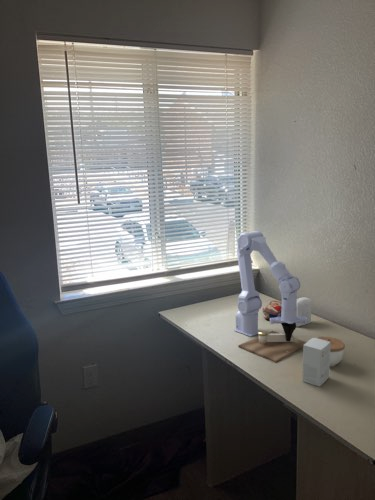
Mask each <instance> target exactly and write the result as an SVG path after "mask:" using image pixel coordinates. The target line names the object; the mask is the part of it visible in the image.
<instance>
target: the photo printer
mask: <svg viewBox="0 0 375 500" xmlns="http://www.w3.org/2000/svg"><path fill="white" fill-rule="evenodd" d="M312 305H313V304H312V300H311V298H309V297H306V296H304V297H303V296H302V297H300V298H299V297H298V298H297V308H296V317H306V318H307V319H308V324H311V322H312ZM305 325H306V324H305V323H296V328H297V327H301V326H305Z"/></svg>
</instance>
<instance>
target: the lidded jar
mask: <svg viewBox="0 0 375 500" xmlns="http://www.w3.org/2000/svg"><path fill="white" fill-rule="evenodd" d="M317 338H318V339H322V340H326V341H329V342H331V346H330V365H329V367H335V366H337V364H339V363H340V362H341V361H342V360H343V357H344V354H345V347H346V345H345V342H343V341H342V340H340V339H338V338H336V337H331V336H319V337H317Z"/></svg>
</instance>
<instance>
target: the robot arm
mask: <svg viewBox="0 0 375 500" xmlns="http://www.w3.org/2000/svg"><path fill="white" fill-rule="evenodd" d="M236 244H237V248H236V256H237V263H238V269H239V278H240V284H241V285H240V287H241V292H240V293H239V295H238V296H237V297H238V299H237V300H238V301H237V308H238V311H237V312H236V314H235V329H233V330H234V331H235V332H236V333H237V332H238V333H240V334H242V335H244V336H245V335H246V336H248V337H253V336H256V335H258V331H261V329H259V312H260V309H261V308H262V306H263V301H262V298H261V297H260V292H258V291H257V290H256V287H255V279H254V271H253V265H252V263H253V262H252V257H251V256H252V255H251V254H252V252H255V251H256V252H258V253H259V254H260V256H261V257H262V258H263V259H264V260H265V262H267V264H268V265H269V266H270V267H269V271H270V273H271V275H272V276H273V277H274V279H275V280H276V281H277V282H278V289H279V291H280V294H281V295H280V296H281V303H282V309H281V314H280V316H279V317H275V318H270V319H269V323H270V325H274V324H281V326H282V329H283V332H284V333H285V337H286V341H290V340H291V336H292V334H293V335H294V331H295V330H296V328H297V327H296V323H305V325H308V324H309V323H308V319H307V318H306V317H296V308H297V299H298V291H299V290H300V288H301V282H300V279H299V278H298V277H296V276H294V275H293V274H292V273H290V271H289V270H288V268H287V267H286V264H285V263H283V261H278V260H277V257H276V256H275V254H274V253H273V251H272V250H271V248H270V247H269V245H268V243H267V240H266V237H265V236H264V234H263V233H262V232H261V231H260V230H254V231H249V232H242V233H240V234H239V236H238V237H236Z"/></svg>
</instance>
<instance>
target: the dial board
mask: <svg viewBox="0 0 375 500" xmlns="http://www.w3.org/2000/svg"><path fill="white" fill-rule="evenodd" d="M267 332H268V334H276V333H279V332H278V331H276V330H270V331H267ZM307 342H308V341H307ZM307 342H306V341H305V340H300V339H299V338H296V337H293V342H267V343H265V344H261V343H259V336H257V337H254V338H252V339H249V340H247V341H245V342H243V343H241V344H238V345H237V346H238V347H237V348H240V349H241V350H245V351H247V352H249V353H252V354H253V355H254V354H255V355H257V356H259V357H262V358H263V359H266V360H269V361H271V362H272V363H273V362H274V363H277V362H279V361H281V360H283V359H285V358H287V357H289V356H291V355H292V354H294V353H297V352H299V351H300V350H302V349H303V345H304V344H305V343H307Z"/></svg>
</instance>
